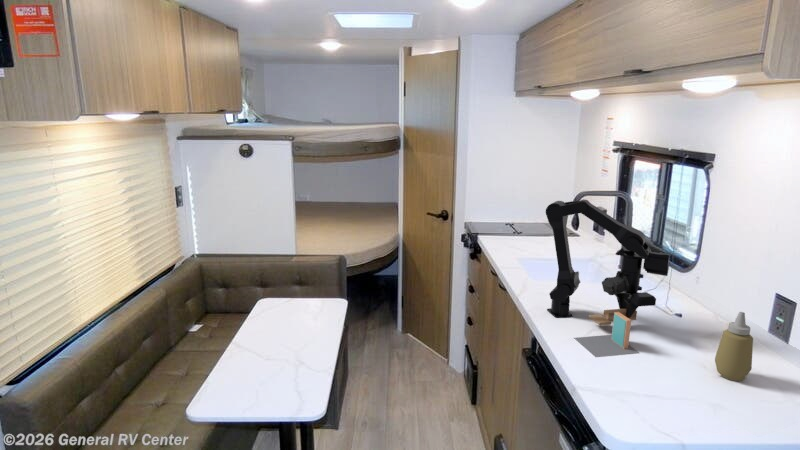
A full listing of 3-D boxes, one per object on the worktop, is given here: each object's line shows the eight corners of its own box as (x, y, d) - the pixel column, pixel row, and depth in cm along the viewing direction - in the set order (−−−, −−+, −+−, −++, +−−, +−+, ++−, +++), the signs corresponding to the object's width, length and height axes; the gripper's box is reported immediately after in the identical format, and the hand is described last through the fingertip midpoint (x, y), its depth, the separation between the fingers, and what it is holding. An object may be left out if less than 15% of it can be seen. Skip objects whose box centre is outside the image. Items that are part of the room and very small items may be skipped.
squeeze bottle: (705, 370, 127) (715, 309, 123) (726, 365, 129) (736, 304, 125) (735, 386, 119) (747, 321, 115) (756, 380, 122) (769, 316, 118)
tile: (610, 339, 143) (613, 312, 141) (615, 339, 143) (618, 311, 141) (623, 349, 137) (626, 320, 135) (627, 348, 138) (631, 320, 136)
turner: (588, 317, 153) (589, 308, 152) (627, 314, 155) (628, 305, 154) (599, 325, 147) (600, 316, 146) (639, 322, 149) (640, 313, 149)
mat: (573, 339, 144) (573, 337, 144) (614, 336, 147) (614, 334, 146) (595, 359, 133) (595, 357, 133) (639, 354, 135) (640, 353, 135)
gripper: (590, 262, 156) (586, 306, 159) (626, 281, 138) (620, 330, 141) (621, 260, 157) (616, 304, 161) (660, 279, 139) (653, 327, 143)
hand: (625, 315), depth 151 cm, fingers closed on turner, 3 cm apart
